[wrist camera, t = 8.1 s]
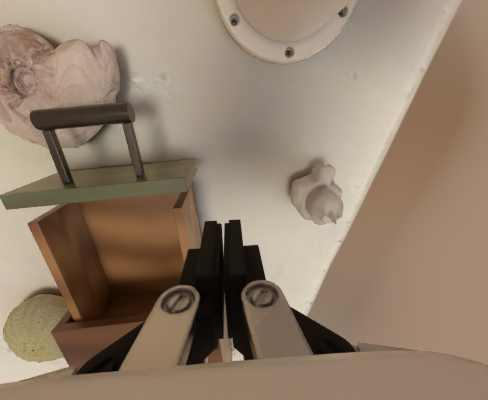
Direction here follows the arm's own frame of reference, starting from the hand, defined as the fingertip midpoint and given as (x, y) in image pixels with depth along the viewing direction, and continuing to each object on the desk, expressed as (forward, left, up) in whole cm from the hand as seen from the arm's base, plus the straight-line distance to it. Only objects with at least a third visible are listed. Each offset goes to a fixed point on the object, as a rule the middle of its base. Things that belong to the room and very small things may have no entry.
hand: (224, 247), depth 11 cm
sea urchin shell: (+18, -25, -16) cm, 35 cm away
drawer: (+4, -10, -15) cm, 18 cm away
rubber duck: (+3, +9, -16) cm, 19 cm away
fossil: (-9, -14, -16) cm, 23 cm away
